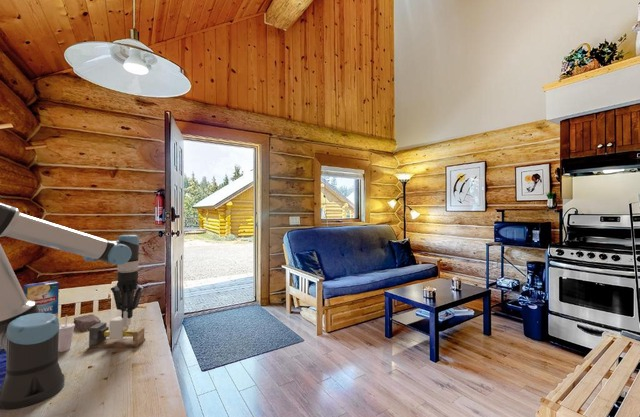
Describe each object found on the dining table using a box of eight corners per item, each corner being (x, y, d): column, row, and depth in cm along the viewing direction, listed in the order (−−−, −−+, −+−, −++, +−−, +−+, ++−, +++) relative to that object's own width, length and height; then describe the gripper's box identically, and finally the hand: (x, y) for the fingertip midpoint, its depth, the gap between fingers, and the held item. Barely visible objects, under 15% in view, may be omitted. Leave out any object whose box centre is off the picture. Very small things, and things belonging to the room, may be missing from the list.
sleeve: (128, 334, 128) (128, 316, 128) (121, 339, 123) (121, 320, 124) (116, 334, 128) (116, 316, 128) (109, 339, 123) (109, 320, 123)
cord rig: (145, 340, 130) (145, 322, 130) (136, 347, 123) (136, 328, 123) (99, 340, 129) (100, 322, 129) (88, 347, 122) (88, 328, 122)
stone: (81, 332, 137) (81, 322, 137) (71, 327, 143) (71, 317, 143) (103, 326, 145) (103, 316, 145) (93, 321, 151) (93, 312, 151)
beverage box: (57, 328, 141) (59, 282, 141) (26, 336, 132) (27, 287, 132) (53, 325, 145) (54, 280, 145) (22, 332, 136) (23, 285, 136)
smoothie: (62, 354, 116) (63, 318, 116) (49, 352, 117) (50, 317, 118) (78, 346, 122) (79, 313, 123) (66, 345, 124) (67, 312, 124)
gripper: (148, 269, 130) (147, 322, 130) (118, 269, 130) (116, 322, 129) (138, 272, 123) (137, 329, 122) (106, 272, 122) (105, 329, 122)
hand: (126, 325), depth 126 cm, fingers closed
